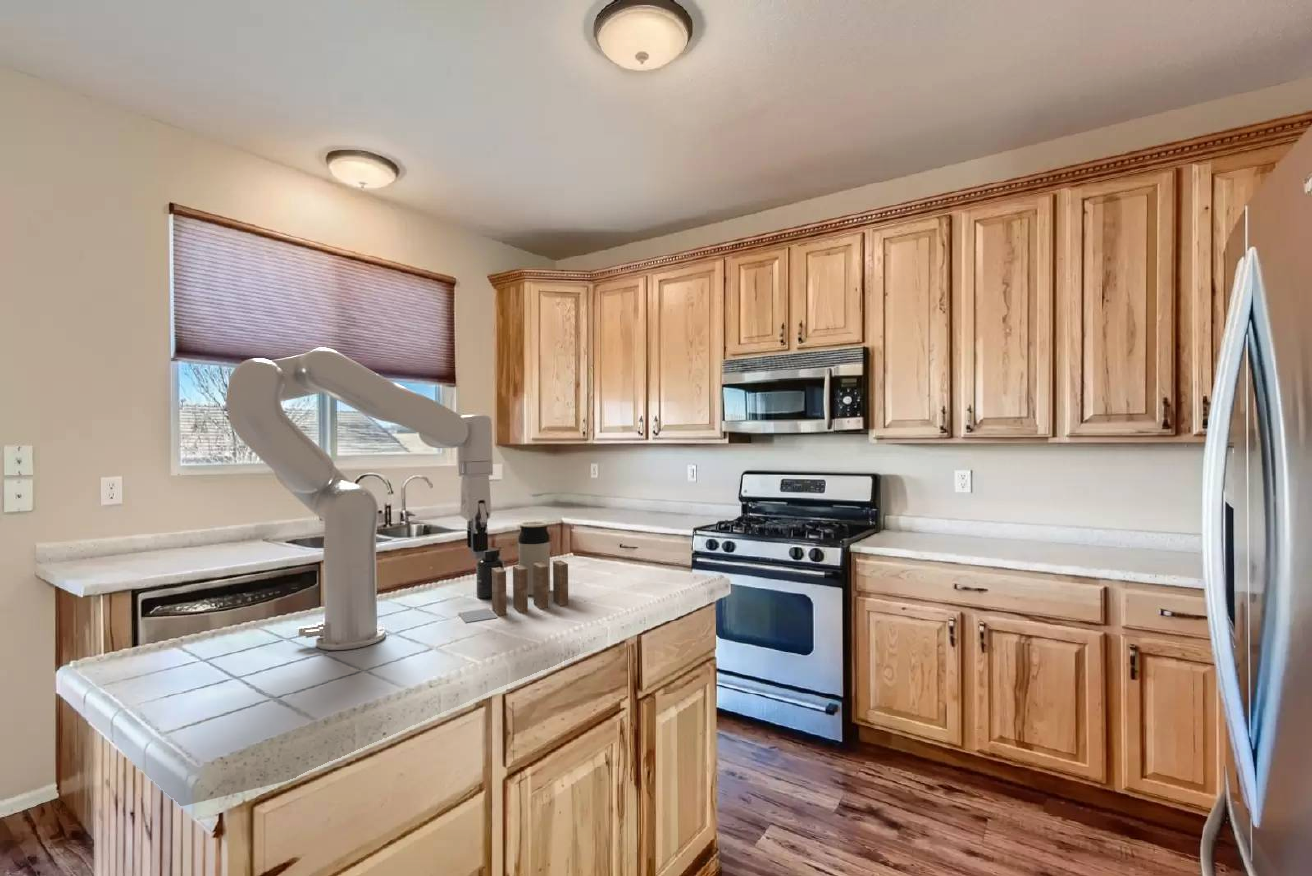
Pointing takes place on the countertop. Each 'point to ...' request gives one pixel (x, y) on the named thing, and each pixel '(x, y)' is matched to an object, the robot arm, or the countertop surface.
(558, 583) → the domino
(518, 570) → the domino
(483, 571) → the supplement bottle
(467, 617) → the pad
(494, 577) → the domino
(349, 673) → the countertop surface
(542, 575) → the domino
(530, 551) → the travel mug
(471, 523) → the domino
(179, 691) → the countertop surface
